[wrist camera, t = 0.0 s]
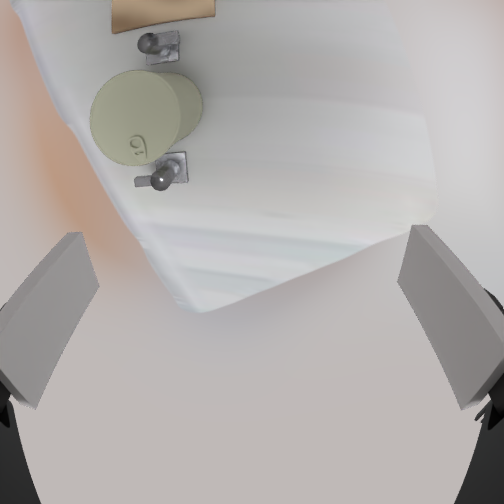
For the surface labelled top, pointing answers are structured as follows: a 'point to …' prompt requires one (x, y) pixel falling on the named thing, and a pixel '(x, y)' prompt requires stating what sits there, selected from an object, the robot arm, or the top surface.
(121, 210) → the top surface
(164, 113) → the can
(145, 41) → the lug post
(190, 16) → the tan flat square board
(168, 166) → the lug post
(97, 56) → the top surface
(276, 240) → the top surface
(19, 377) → the robot arm
